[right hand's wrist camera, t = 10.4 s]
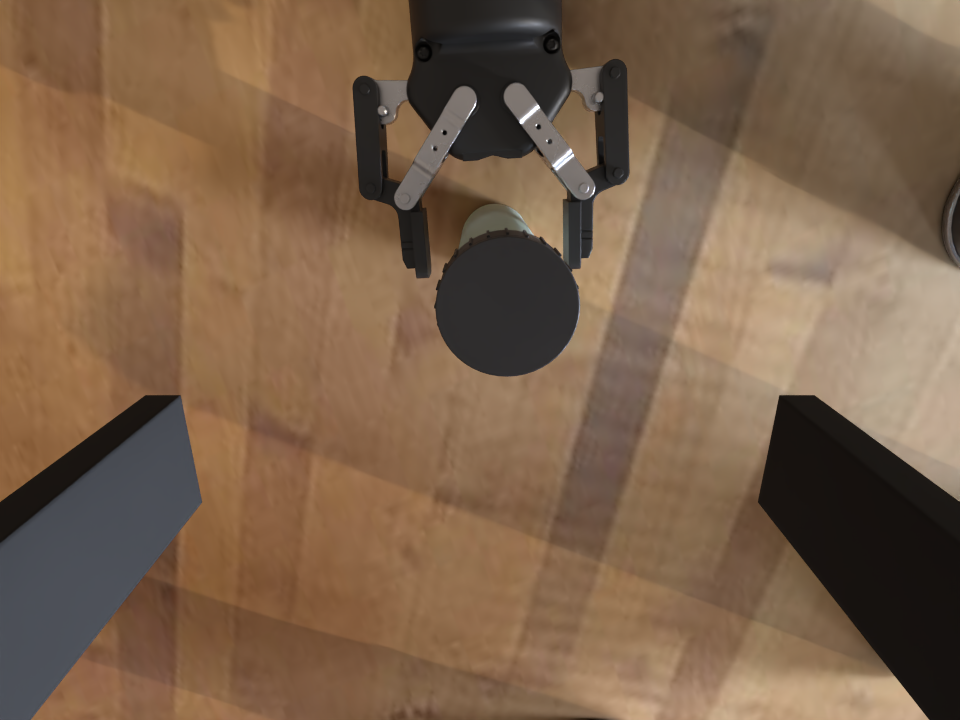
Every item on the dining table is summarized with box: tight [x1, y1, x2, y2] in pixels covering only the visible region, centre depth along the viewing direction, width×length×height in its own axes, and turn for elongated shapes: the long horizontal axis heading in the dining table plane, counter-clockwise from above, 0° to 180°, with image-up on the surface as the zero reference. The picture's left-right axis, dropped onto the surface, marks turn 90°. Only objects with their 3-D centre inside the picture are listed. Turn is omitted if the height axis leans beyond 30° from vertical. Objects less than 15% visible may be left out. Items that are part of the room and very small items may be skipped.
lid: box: [434, 228, 580, 377], centre depth 22 cm, size 5×5×2 cm
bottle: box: [458, 204, 533, 249], centre depth 30 cm, size 4×4×18 cm
